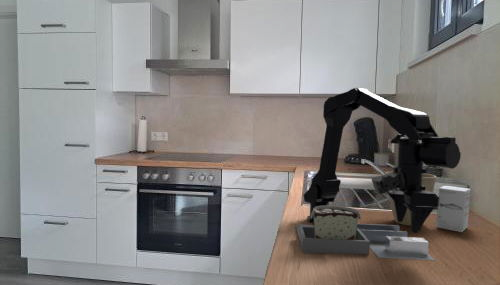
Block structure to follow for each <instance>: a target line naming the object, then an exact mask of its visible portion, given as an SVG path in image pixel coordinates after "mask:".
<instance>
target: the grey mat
mask: <svg viewBox="0 0 500 285" xmlns="http://www.w3.org/2000/svg"><path fill="white" fill-rule="evenodd" d="M370 249H371V250H372V252H373V253H374V254H375V256H376V257H377V258H378V259H396V260H397V259H398V260H399V259H401V260H420V261H421V260H423V261H436V259H435V258H434V257H432V256H431V255H430V254H429V253H428V255H409V254H389V253H388V251H387V250H386V249H385V243H370Z"/></svg>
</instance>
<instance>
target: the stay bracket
mask: <svg viewBox="0 0 500 285" xmlns="http://www.w3.org/2000/svg"><path fill="white" fill-rule="evenodd" d="M357 228H359V229H360V231H361V232H362V233H363V234H364V235H365V236H366V238H367V239H368V240H369V241H370V243H379V244H385V240H386V236H391V237H408V231H407V230H405V231H402V230H400V225H399V224H397V225H396V224H375V223H373V224H372V223H371V224H370V223H358V224H357Z"/></svg>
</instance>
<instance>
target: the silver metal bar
mask: <svg viewBox="0 0 500 285" xmlns="http://www.w3.org/2000/svg"><path fill="white" fill-rule="evenodd" d="M384 244H385V249H386V250H387V251H388V253H389V254H409V255H428V254H429V241H428V240H426V239H425V238H424V237H414V236H413V237H412V236H411V237H410V236H409V237H408V236H407V237H391V236H386V240H385V243H384Z"/></svg>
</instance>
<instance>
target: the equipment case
mask: <svg viewBox="0 0 500 285" xmlns="http://www.w3.org/2000/svg"><path fill="white" fill-rule="evenodd" d="M295 229H296V233H297V237H298V241H299V244H300V249H301V252H302V253H303V254H319V255H326V254H328V253H330V254H348V255H351V254H352V255H370V249H371V248H370V241H369V240H368V239H367V238H366V236H365V235H364V234H363V233H362V232H361V231H360V229H359V228H357V231H356V238H355V240H344V239H321V238H315V234H314V224H295Z"/></svg>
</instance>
